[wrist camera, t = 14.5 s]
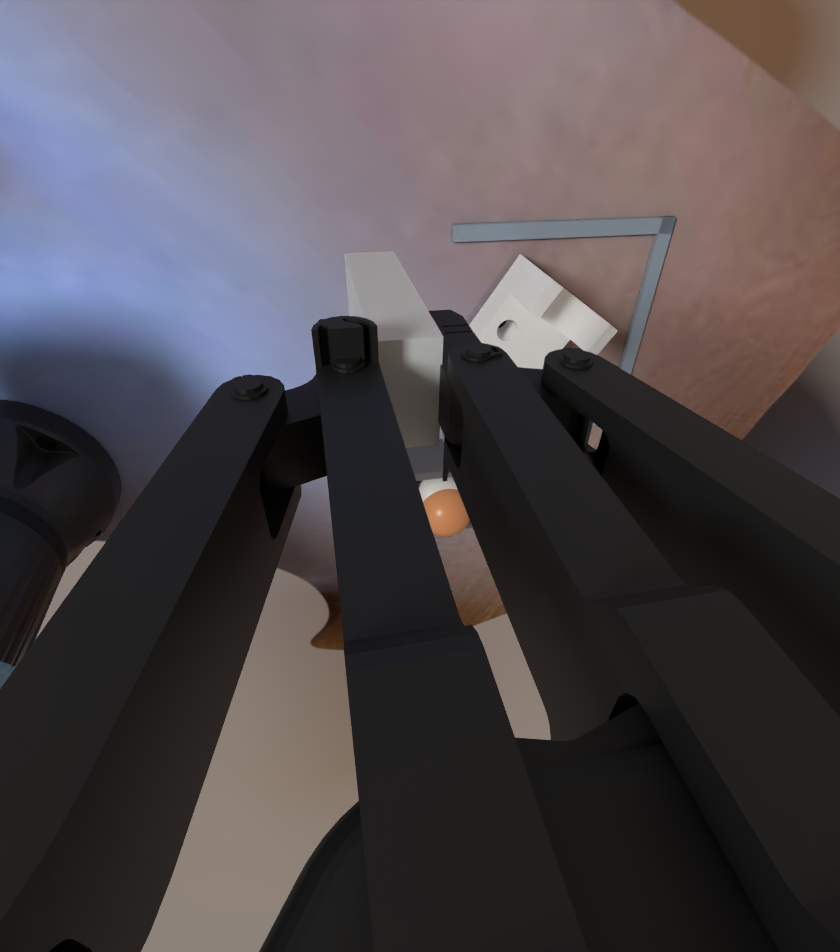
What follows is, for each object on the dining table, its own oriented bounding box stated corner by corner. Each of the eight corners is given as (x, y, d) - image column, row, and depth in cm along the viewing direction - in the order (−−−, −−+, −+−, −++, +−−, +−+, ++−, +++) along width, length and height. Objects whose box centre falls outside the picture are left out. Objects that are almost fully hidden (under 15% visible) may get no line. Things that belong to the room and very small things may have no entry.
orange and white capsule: (409, 499, 53) (424, 551, 47) (409, 459, 50) (425, 510, 44) (456, 493, 54) (476, 543, 48) (459, 454, 51) (481, 503, 45)
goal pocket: (442, 439, 51) (443, 441, 50) (452, 223, 39) (453, 225, 38) (614, 421, 54) (616, 423, 53) (673, 216, 42) (676, 217, 41)
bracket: (516, 250, 41) (554, 280, 35) (574, 296, 45) (618, 330, 39) (424, 380, 47) (444, 424, 41) (482, 412, 50) (508, 457, 44)
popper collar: (395, 503, 55) (403, 536, 51) (393, 444, 50) (402, 475, 46) (465, 495, 56) (478, 526, 52) (469, 436, 51) (484, 466, 47)
